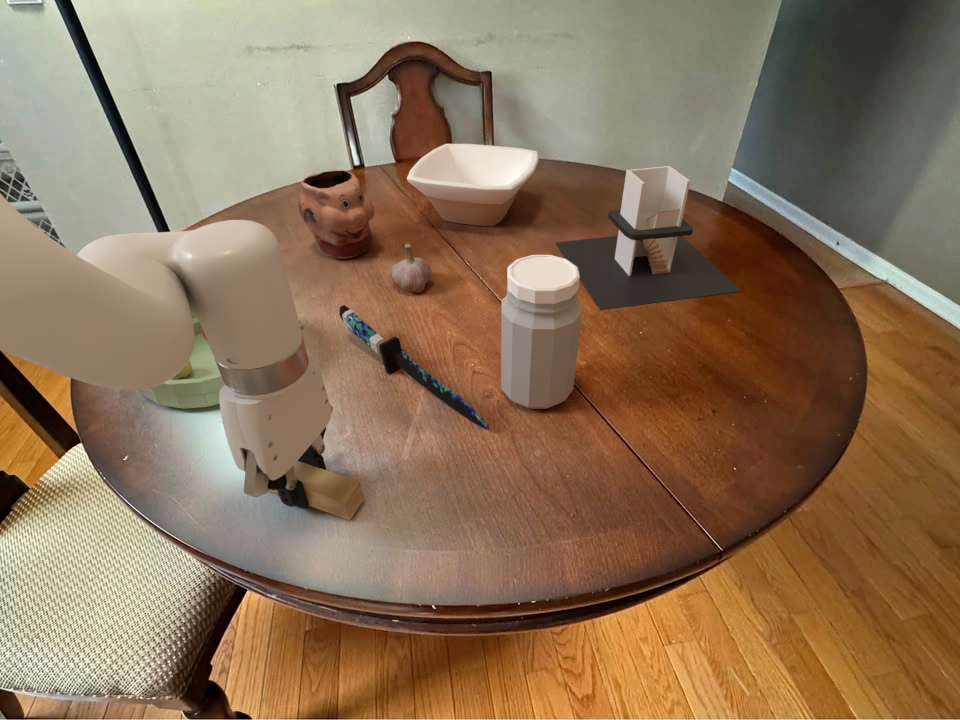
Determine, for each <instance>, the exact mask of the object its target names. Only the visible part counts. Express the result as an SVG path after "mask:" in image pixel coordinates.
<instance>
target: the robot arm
mask: <svg viewBox="0 0 960 720" xmlns="http://www.w3.org/2000/svg"><path fill="white" fill-rule="evenodd" d="M192 316H193V317H196V318H197V319H198V320H199V321H200V323H201V326H202V328H203V331H204V333H205V336H206V338H207V341H208V344H209V346H210V349H211V351H212V354H213V356H214V359H215V361H216V364H217V366H218V369H219V371H220V374H221V377H222V379H223V382H224V384H225V385H224V386H223V387H222V389H221V390H220V391H219V401H220V404H219V410H220V416H221V417H220V418H221V421H222V426H223V429H224V434H225V437H226V441H227V444H228V447H229V450H230V453H231V455H232V458H233V460H234V463H235V465H236V467H237V469H238V470H241V471H242V472H244V485H243V493H244V495H246V496H250V497H252V498H259V497H261V496H263V495H265V494H267V493H269V490H270V489H271V490H277V491H278V494H279V495H278V497H279V499H280V501H281V503H282V504H284V505H285V506H287V507H290V508H294V507H296V508H300V509H303V510H306V509H307V508H308V507H309V506H308V505H309V504H308V499H307V496H306V493H305V490H304V486H303V483H302V482H301V481H300V480H297V479H296V475H295V471H294V466H293V465H294V464H295V463H296V462H297V461H299V462H302V463H305V464H308V465H311V466H314V467H317V468H321V469H324V470H327V467H326V463H325V460H324V459H325V458H324V456H323V454H324V453H325V450H326V444H325V441H324V437H325V434H326V431H327V426H328V424H329V423H330V421H331V417H332V413H333V411H334V407H333V405H331V404H330V398H329V395H328V392H327V388H326V385H325V383H324V379H323V377H322V375H321V372H320V370H319V368H318V366H317V364H316V362H315V359H314V358H313V356H312V354H311V353H310V351H309V350H308V349H307V347H306V343H305V339H304V335H303V330H304V324H303V323H302V321H301V320H299V316H298V312H297V308H296V305H295V301H294V297H293V294H292V290H291V285H290V280H289V277H288V273H287V270H286V266H285V262H284V258H283V254H282V250H281V248H280V245H279V241H278V239H277V237H276V235H275V234H274V233H273V232H272V230H270V229H269V228H268V227H267V226H266V225H264V224H262V223H259V222H257V221H254V220H247V219H228V220H227V219H226V220H221V221H217V222H216V221H215V222H212V223H209V224H205V225H203V226H202V225H201V226H199V227H198V228H196V229H195V228H194V229H192V230H191V229H190V230H181V231H161V232H159V231H158V232H156V231H155V232H128V233H118V234H117V233H116V234H110V235H107V236H102V237H100V238H97V239H95V240H93V241H92V242H90V243H88V244H86V245H84V247H82V248H81V249H80V250H79V252H77V254H75V253H74V252H72V251H70V250H69V249H68V248H67V247H65V246H63V245H61V244H60V243H58V242H57V241H55V239H54V238H53V239H52V237H50V236H49V235H47V234H46V233H45V232H43V231H42V229H40V228H38V227H37V226H35V224H33V223H32V222H31V221H30V220H29V219H28V218H26V217H25V216H24V215H23V214H22V213H20V212H19V211H18V210H17V209H16V208H15V206H13V205H12V204H11V203H10V202H9V201H8V200H7V199H6V198H5V197H4V195H3V194H2V193H1V192H0V351H2V352H5V353H6V354H9V355H11V356H14V357H16V358H19V359H21V360H23V361H26V362H28V363H30V364H33V365H35V366H38V367H40V368H44V369H46V370H48V371H51V372H53V373H56V374H59V375H61V376H64V377H66V378H69V379H73V380H75V381H79V382H81V383H85V384H88V385H91V386H96V387H101V388H103V389H104V388H105V389H110V390H116V391H117V390H119V391H141V389H146V388H151V387H155V386H158V385H160V384H163V383H165V382H167V381H168V380H170V379H172V378H173V377H174V376H176V375H177V374H178V373H179V372H180V371H181V370H182V369H183V368H184V367H185V365H186V364H187V362H188V361H189V358H190V356H191V354H192V351H193V347H194V340H195V337H194V327H193V320H192Z"/></svg>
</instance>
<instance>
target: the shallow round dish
mask: <svg viewBox="0 0 960 720" xmlns="http://www.w3.org/2000/svg"><path fill="white" fill-rule="evenodd" d="M192 320H193V327H194V337H195V340H194V347H193V351H192V354H191V356H190V358H189V361H190V362H191V365H192V370H191V372H190V374H189V375H187V376H186V377H182V378H178V377H175V376H174V377H173V378H172V379H170V380H168V381H167V382H165V383H163V384H160V385H158V386H155V387H151V388H146V389H141V390H140V391H141V392H142V394H143V396H144V397H145V398H147V399H149V400H150V401H152V402H154V403H156V404H158V405H160V406H164V407H171V408H176V409H194V408H195V409H196V408H208V407H213V406H217V405H220V401H219V391H220V390H221V389H222V387H223V386H224V385H225V384H224V382H223V379H222V377H221V374H220V371H219V369H218V366H217V364H216V361H215V359H214V356H213V354H212V351H211V349H210V346H209V344H208V341H207V340H206V339H205V338H204V336H203V333H202V331H203V328H202V326H201V323H200V321H199V320H198V319H197V318H196V317H193V316H192Z"/></svg>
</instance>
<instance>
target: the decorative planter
mask: <svg viewBox="0 0 960 720" xmlns="http://www.w3.org/2000/svg"><path fill="white" fill-rule="evenodd" d="M300 184H301V192H300V194H299V198H298V212H299V215H300V216H301V218H302V221H303V223H304V224H305V225H306V226H307V228H308V230H309V232H310V233H311V235H312V237H313V238H314V239H315V241H316V242H317V244H318V245H319V248H320V251H322V253H323V254H324V255H326V256H328V257H330V258H334V259H342V260H343V259H351V258H354V257H357V256H361V255H363V254H364V253H366V252H368V251H369V250H370V249H371V247H372V242H373V234H372V230H371V227H370V223H369V221H371V220H372V219H373V218H374V216H375V206H374V204H373V203H372V201H371V200H370V198H369V197H368V196H367V195H366V194H365V192H364V191H363V188H362V185H361V181H360V180H359V178H358V177H356V175H355V174H353V173H352V172H351V171H347V170H343V169H333V170H324V171H321V172H318V173H314V174H310V175H308V176H306V177H305V178H303V179H302V181H301V183H300Z"/></svg>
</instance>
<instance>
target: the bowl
mask: <svg viewBox="0 0 960 720" xmlns="http://www.w3.org/2000/svg"><path fill="white" fill-rule="evenodd" d="M538 164H539V153H538V151H536V150H532V149H526V148H520V147H511V146H499V145H487V144H475V143H444V144H442V145H440V146H438V147H436V148H434V149H432V150H430V151H429V152H428V153H426V154H425V155H423V156H422V157H420V158H419V159H418V161H417V162H415V164H414V165H413V167H411V168H410V169H409V172H408V175H407V177H406V180H407V182H408V183H409V184H410V185H411V186H412V187H414V188H415V189H416V190H418V191H419V192H420V193H421V194H423V195H424V196H425V197H426V198H427V199H428V202H429V203H431V205H432V206H433V208H434V209H435V211H436V212H437V213H438V214H439V216H440V217H441V219H442V220H443V221H446V222H450V223H454V224H460V225H461V224H462V225H468V226H469V225H470V226H478V227H479V226H480V227H495V226H496V225H497V224H499V223H500V222H501V221H502V220H503V219H505V217H506V215H507V214H508V212H509V210H510V208H511V206H512V204H513V203H514V201H515V198H516V196H517V195H518V192H519V190H521V188H522V187H523V186H524V185H525V184H526V183H527V182H528V180H529V179H530V178H531V177H532V176H533V175H534V174H535V171H536V169H537V167H538Z"/></svg>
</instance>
